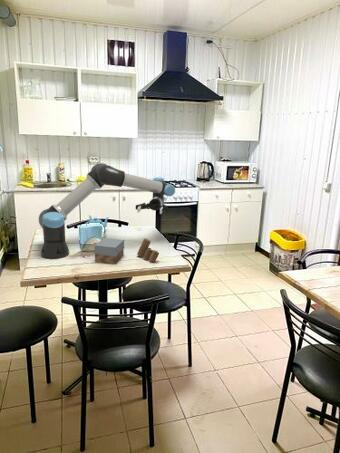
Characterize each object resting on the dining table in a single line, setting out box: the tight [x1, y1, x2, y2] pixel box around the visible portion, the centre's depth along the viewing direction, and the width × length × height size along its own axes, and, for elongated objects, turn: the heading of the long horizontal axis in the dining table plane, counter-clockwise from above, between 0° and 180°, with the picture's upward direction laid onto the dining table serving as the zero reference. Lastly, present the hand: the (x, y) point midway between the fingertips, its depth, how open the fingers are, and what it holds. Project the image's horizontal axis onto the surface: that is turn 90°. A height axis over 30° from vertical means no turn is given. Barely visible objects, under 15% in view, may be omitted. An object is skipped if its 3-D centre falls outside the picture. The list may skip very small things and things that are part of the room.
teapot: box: [84, 215, 109, 231], centre depth 239 cm, size 15×15×10 cm
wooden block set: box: [136, 238, 160, 263], centre depth 196 cm, size 18×9×10 cm, turn 22°
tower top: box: [94, 237, 125, 256], centre depth 191 cm, size 12×14×5 cm
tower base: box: [94, 248, 125, 265], centre depth 192 cm, size 12×14×5 cm
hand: (149, 211), depth 203 cm, fingers open, 13 cm apart
